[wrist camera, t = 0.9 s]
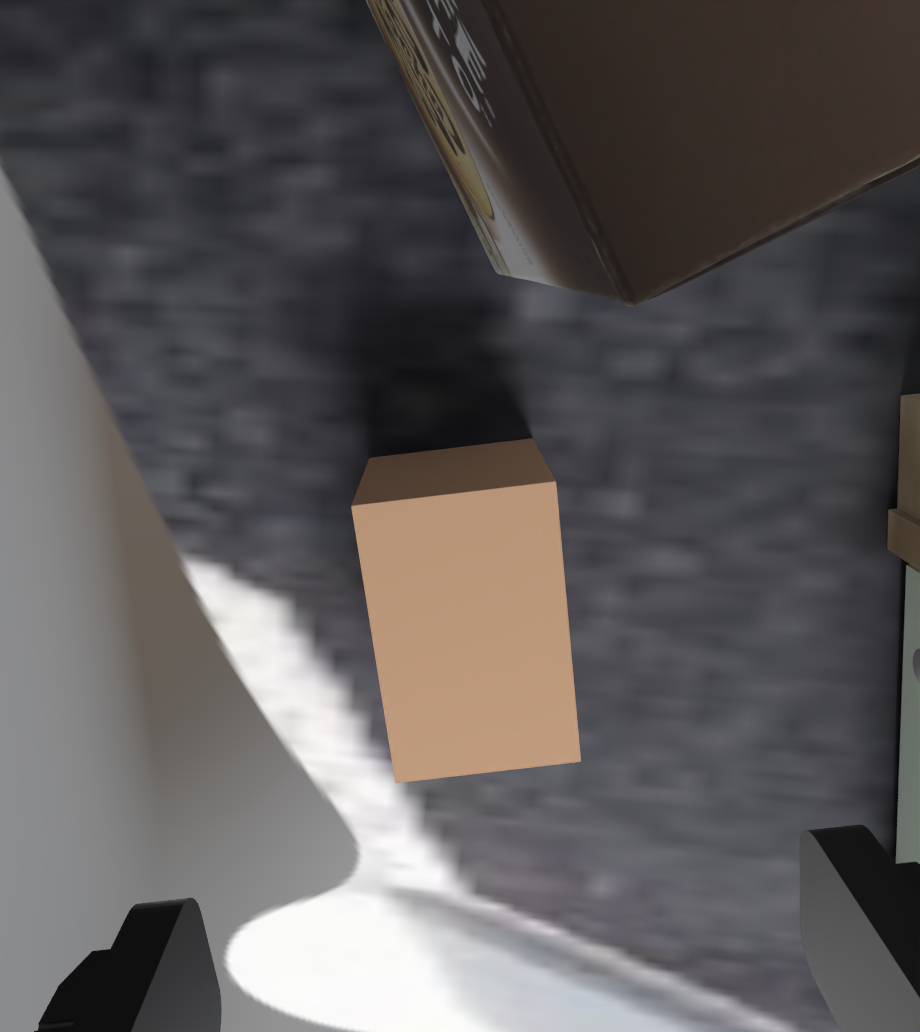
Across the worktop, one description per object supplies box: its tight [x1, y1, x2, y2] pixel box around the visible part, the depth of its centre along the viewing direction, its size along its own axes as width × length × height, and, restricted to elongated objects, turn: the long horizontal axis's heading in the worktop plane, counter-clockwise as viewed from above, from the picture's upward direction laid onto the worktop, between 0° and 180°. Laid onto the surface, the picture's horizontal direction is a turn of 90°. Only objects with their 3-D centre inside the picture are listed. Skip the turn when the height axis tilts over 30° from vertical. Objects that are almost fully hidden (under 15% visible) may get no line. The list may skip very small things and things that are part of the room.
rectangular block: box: [351, 438, 581, 783], centre depth 22 cm, size 7×4×5 cm, turn 7°
